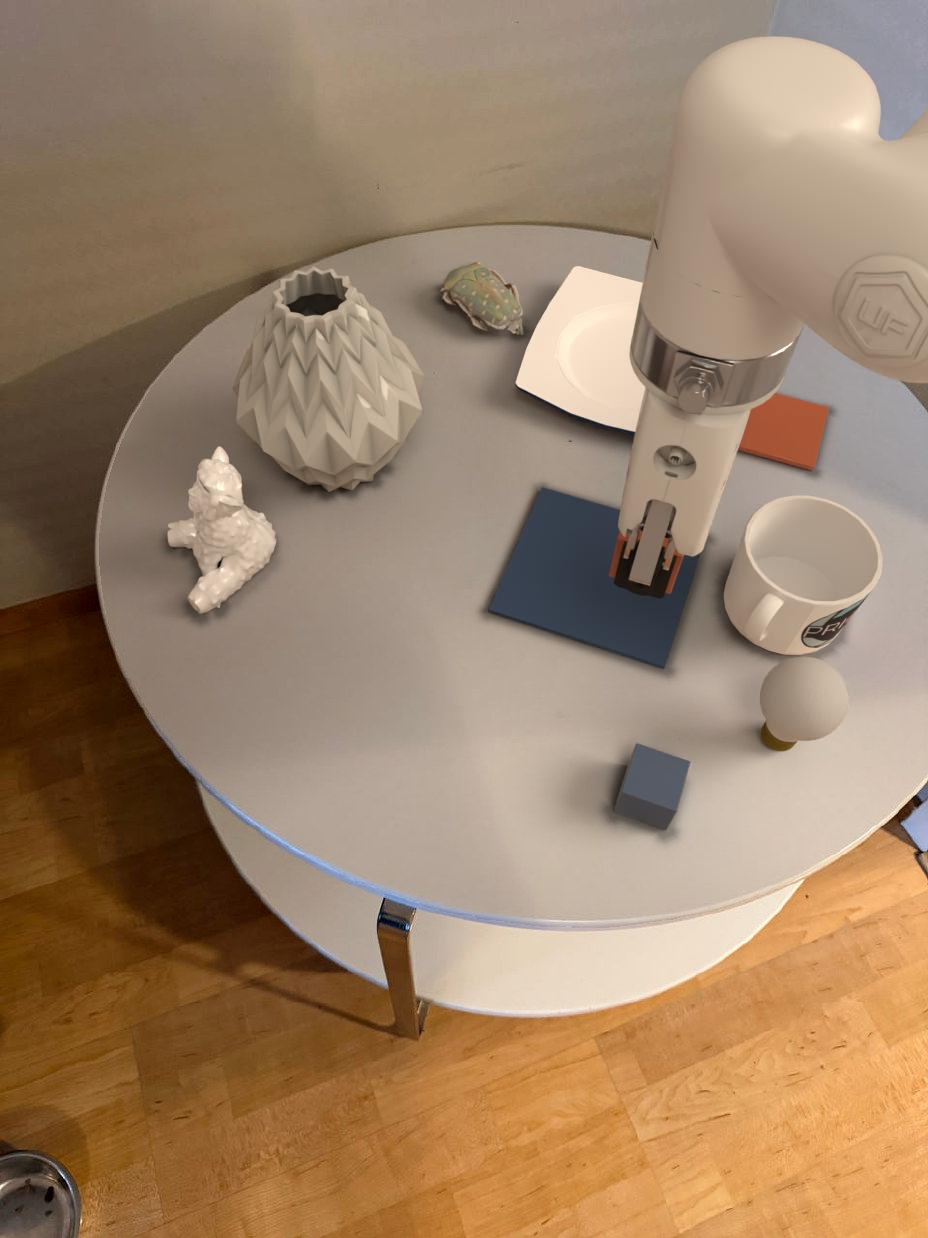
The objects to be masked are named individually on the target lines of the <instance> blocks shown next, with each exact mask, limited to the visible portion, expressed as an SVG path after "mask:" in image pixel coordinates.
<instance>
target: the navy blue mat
mask: <svg viewBox="0 0 928 1238" xmlns="http://www.w3.org/2000/svg"><path fill="white" fill-rule="evenodd" d="M619 515H620V509H618V508H614V507H611V506H608V505H605V504H601V503H598V502H594V501H591V500H588V499H584V498H581V497H577V496H574V495H571V494H568V493H563V492H560V491H557V490H554V489H550V488H546V487H543V486H542V487H541V488H540V490H539V492H538V495H537V498H536V499H535V502H534V504H533V507H532V509H531V511H530V514H529V516H528V518H527V520H526V522H525V525H524V527H523V529H522V532H521V534H520V536H519V539H518V541H517V543H516V546H515V547H514V550H513V552H512V554H511V557H510V559H509V561H508V564H507V566H506V568H505V570H504V572H503V575H502V578H501V580H500V583H499V585H498V586H497V589H496V592H495V593H494V596H493V598H492V601H491V603H490V605H489V607H488V613H490V614H494V615H498V616H500V617H503V618H506V619H510V620H512V621H516V622H518V623H522V624H524V625H528V626H531V627H534V628H538V629H540V630H543V631H546V632H550V633H552V634H556V635H559V636H562V637H565V638H568V639H571V640H574V641H577V642H580V643H584V644H587V645H590V646H593V647H596V648H599V649H602V650H605V651H608V652H611V653H614V654H617V655H620V656H624V657H626V658H629V659H633V660H636V661H639V662H642V663H646V664H648V665H651V666H655V667H658V668H660V669H666V665H667V663H668V660H669V659H668V658H669V656H670V652H671V650H672V646H673V643H674V639H675V636H676V633H677V630H678V626H679V623H680V620H681V617H682V613H683V610H684V606H685V604H686V601H687V597H688V593H689V590H690V587H691V584H692V581H693V578H694V574H695V571H696V568H697V565H698V562H699V557H700V554H701V552H700V553H699V554H697V555H696V556H693V557H692V556H688V555H684V556H683V559H682V562H681V565H680V568H679V571H678V573H677V576H676V579H675V582H674V585H673V588H672V591H671V593H670V594H669V593H665V595H664V597H663V598H655V597H651V596H641V595H637V594H634V593H631V592H630V591H628V590H627V589H624V588H620V587H617V586H616V585H615V584H614V579H615V578H613V577H610V576H609V572H610V568H611V564H612V560H613V555H614V551H615V547H616V543H617V539H618V536H619V533H620V530H619V528H618V521H619Z"/></svg>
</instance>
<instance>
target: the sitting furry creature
mask: <svg viewBox="0 0 928 1238" xmlns="http://www.w3.org/2000/svg"><path fill="white" fill-rule="evenodd" d="M197 465H198V466H197V471H196V479H195V482H194V483H193V485H192V487H190V488H188V490H187V493H188V501H187V506H188V509H189V510H190V511H191V512H193V517H189V518H188V519H185V520H182V519H179V520H178V521H174V522H169V523H168V524H167V528H168V529H169V530H167V542H168V545H169V547H170V548H186V549H189V550H190V549H192V554H193V556H194V557H195V559H196V561H197V563H198V567H199V569H200V571H201V573H202V576H200V577H199V578H198V580H197V583H196V584H195V585H194V587H193V588H192V590H190V592H189V594H188V596H187V600H188V602H189V604H190V605H191V607H192V608H193V610H194V611H196V612H198V615H203V614H206V613H208V612H210V611H212V610H214V609H216V608H218V609H220V608H221V604H222V602H226V601H227V599H228V598H229V597H231V596H232V595H234V593H236V591H238V590H240V589H242V587H243V586H244V584H245V583H246V582H249V581H251V580H252V578H253V576H254V575H255V574H256V573H259V572H260V571H261V570H263V569H265V566H266V565H267V564H269V563H270V560H271V557H272V554H273V553H274V551H275V548H276V545H277V538H276V531H275V530H274V529H273V524H272V523H271V522H270V521H268V520H267V518H266V515H265V514H264V513H263V512H258V511H256V510H253V509H251V508H250V507H248V506H247V505H246V504H245V503H244V498H243V483H242V482H243V481H242V475H241V473H240V472H239V471H238V470H237V468H236V467H235V466H234V465H233V464H231V463H230V458H229V455H228V453H227V452H226V450H225V449H224V448H223V447H222V446H217V447H216V448H215V450H214V452H213V454H212V456H211V458H203V459H201V461H200V462H199V463H198V464H197ZM219 562H221V563H220V566H219ZM218 566H219V567H218Z"/></svg>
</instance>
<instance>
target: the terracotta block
mask: <svg viewBox="0 0 928 1238" xmlns="http://www.w3.org/2000/svg"><path fill="white" fill-rule="evenodd" d="M642 532H643V531H640V534H639V537H638V540H640V539H641V535H642ZM628 537H629V535H628V534H627V535H626V537H624V536H623V535H622V534H621V532H620V533H619V536H618V539H617V543H616V547H615V551H614V555H613V560H612V564H611V568H610V572H609V576H610V577H613V578H615V575H616V571H617V567H618V563H619V559H620V555H621V551H622V547H623V544H624V541H625V542H627V541H628ZM668 541H669V539H668V538H664V541H663V545H662V546H664V547H665V550H666V547H667V544H668ZM637 542H638V541H637ZM664 552H665V551H664ZM674 555H675V556H677V558H676V562H675V565H674V568H673V571H672V574H671V577H670V580H669V583H668V586H667V589H666V592H665V593H669V594H670V593H671V591H672V588H673V585H674V582H675V579H676V576H677V573H678V571H679V568H680V565H681V562H682V559H683V556H684V554H679V553H678V551H677V549H675V552H674Z"/></svg>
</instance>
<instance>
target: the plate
mask: <svg viewBox="0 0 928 1238" xmlns="http://www.w3.org/2000/svg"><path fill="white" fill-rule="evenodd" d="M642 284H643V281H637V280H634V279H629V278H625V277H622V276H618V275H614V274H610V273H606V272H603V271H600V270H595V269H592V268H587V267H583V266H580V265H577V266H574V267H573V268H572V269H571V271H570V272H569V274H568V275H567V276H566V278H565V279H564V281H563V283H562V284H561V285H560V286H559V288H558V289H557V291H556V293H555V294H554V296H553V298H552V299H551V300H550V301H549V303H548V305H547V306H546V309H545V311H544V312H543V314H542V316H541V317H540V319H539V321H538V323H537V324H536V326H535V329H534V331H533V333H532V335H531V338H530V340H529V342H528V344H527V346H526V349H525V351H524V355H523V358H522V361H521V364H520V366H519V367H520V368H519V370H518V374H517V377H516V380H515V382H514V386H515V388H516V390H517V391H520V392H522V393H524V394H525V395H528V396H529V397H531V398H533V399H535V400H537V401H539V402H541V403H543V404H545V405H547V406H549V407H550V408H553V409H555V410H557V411H559V412H561V413H563V414H564V415H567V416H568V417H571V418H574V419H576V420H579V421H581V422H584V423H585V422H586V423H589V424H592V425H594V426H598V427H601V428H603V429H608V430H611V431H615V432H620V433H624V434H628V435H631V436H634V435H635V431H636V426H637V422H638V417H639V412H640V408H641V403H642V399H643V395H644V390H645V386H644V385H643V384H642V383H641V382H640V381H639V379H638V378H637V376H636V374H635V373H634V371H633V368H632V366H631V361H630V356H629V354H630V344H631V339H632V335H633V330H634V324H635V319H636V314H637V309H638V304H639V299H640V294H641V289H642Z"/></svg>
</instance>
